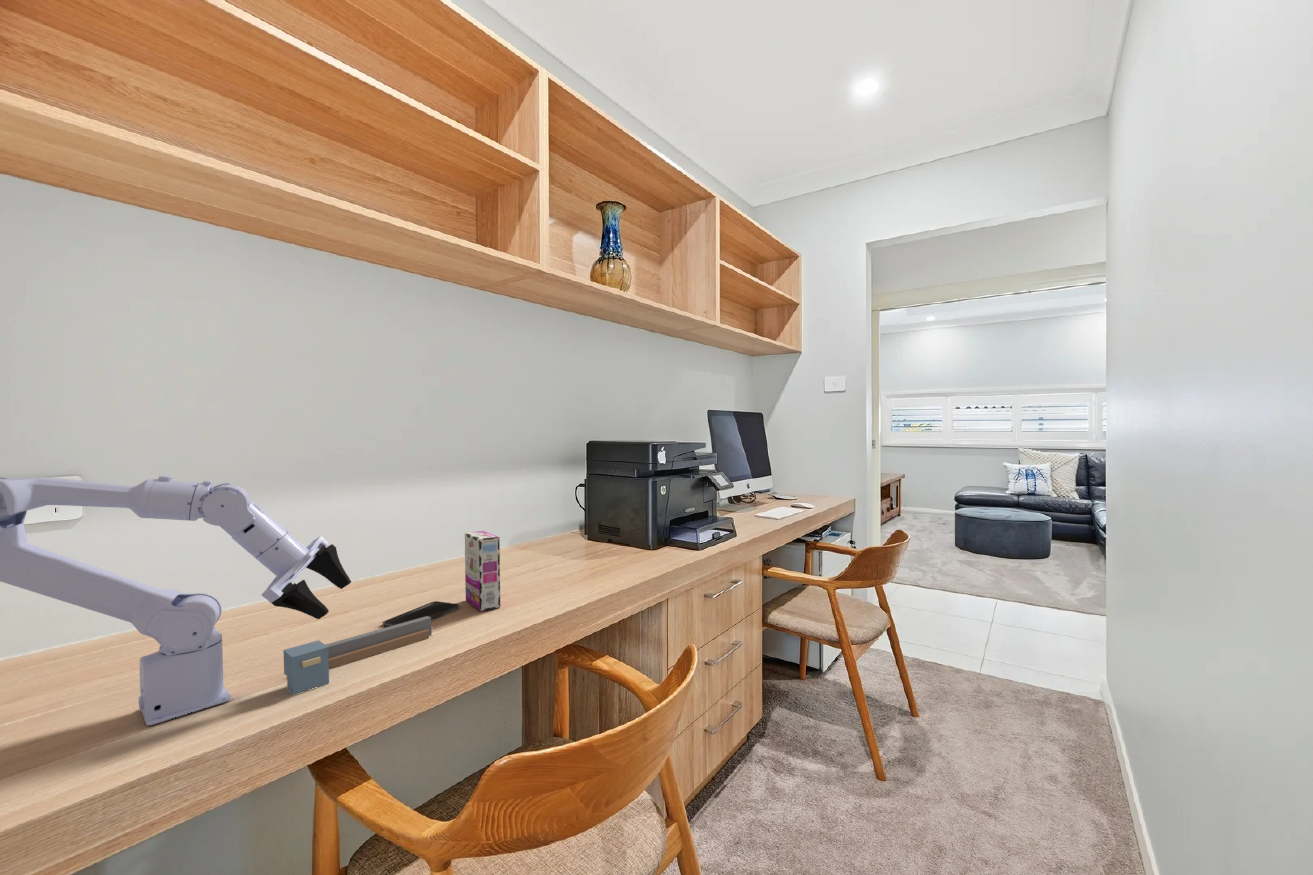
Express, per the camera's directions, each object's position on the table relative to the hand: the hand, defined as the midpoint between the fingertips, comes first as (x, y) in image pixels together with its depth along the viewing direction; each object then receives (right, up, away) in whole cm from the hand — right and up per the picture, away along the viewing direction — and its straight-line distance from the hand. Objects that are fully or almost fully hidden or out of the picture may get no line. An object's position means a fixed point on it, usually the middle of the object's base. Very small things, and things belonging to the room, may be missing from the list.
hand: (335, 599), depth 91 cm
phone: (+3, -12, +27) cm, 30 cm away
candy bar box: (+14, -12, +35) cm, 39 cm away
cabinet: (-2, -12, -5) cm, 13 cm away
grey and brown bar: (+3, -12, +9) cm, 15 cm away
